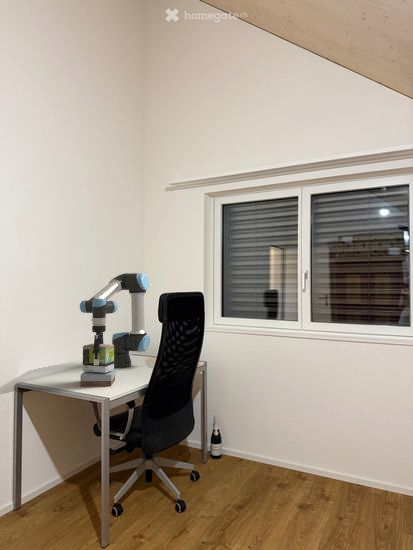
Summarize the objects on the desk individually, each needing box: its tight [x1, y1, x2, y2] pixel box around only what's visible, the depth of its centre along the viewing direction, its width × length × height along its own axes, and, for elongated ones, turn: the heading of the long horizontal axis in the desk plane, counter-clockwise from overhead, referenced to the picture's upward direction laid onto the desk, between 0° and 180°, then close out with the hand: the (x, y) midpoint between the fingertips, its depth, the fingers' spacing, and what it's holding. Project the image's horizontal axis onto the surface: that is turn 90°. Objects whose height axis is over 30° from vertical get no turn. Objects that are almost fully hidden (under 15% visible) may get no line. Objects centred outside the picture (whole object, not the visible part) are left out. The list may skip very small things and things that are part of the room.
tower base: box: [79, 376, 116, 388], centre depth 228 cm, size 14×17×4 cm
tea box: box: [82, 343, 115, 373], centre depth 228 cm, size 15×10×15 cm
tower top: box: [79, 368, 117, 382], centre depth 228 cm, size 14×17×4 cm
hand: (98, 362), depth 228 cm, fingers closed on tea box, 12 cm apart
